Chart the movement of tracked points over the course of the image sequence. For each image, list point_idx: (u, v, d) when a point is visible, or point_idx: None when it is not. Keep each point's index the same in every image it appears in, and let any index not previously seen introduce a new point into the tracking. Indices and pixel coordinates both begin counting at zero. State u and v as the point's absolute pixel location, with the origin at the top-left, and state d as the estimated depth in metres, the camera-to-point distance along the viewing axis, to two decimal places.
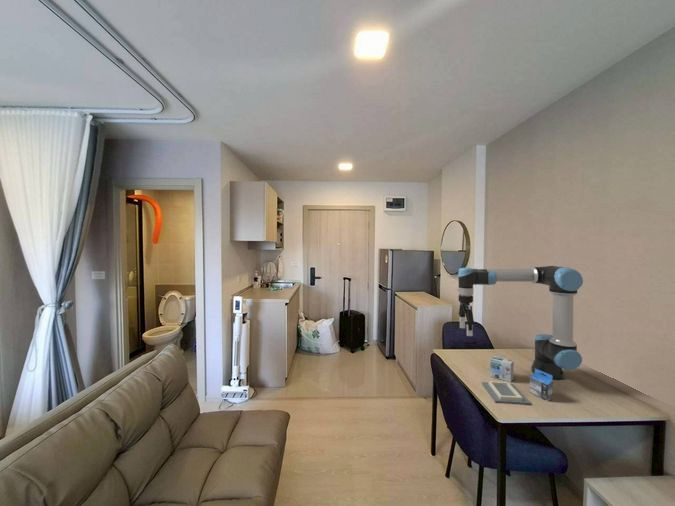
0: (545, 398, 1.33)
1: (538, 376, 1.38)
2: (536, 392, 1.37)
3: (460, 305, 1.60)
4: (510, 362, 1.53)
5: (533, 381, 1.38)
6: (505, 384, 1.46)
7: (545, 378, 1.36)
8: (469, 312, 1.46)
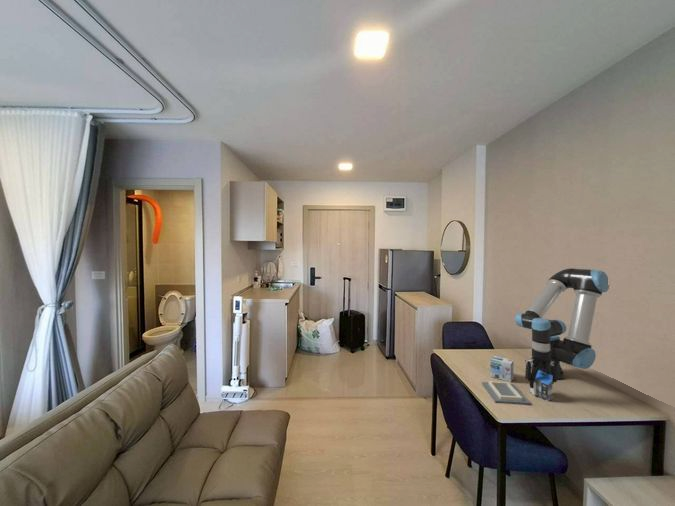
0: (545, 398, 1.33)
1: (538, 376, 1.38)
2: (536, 392, 1.37)
3: (550, 365, 1.37)
4: (510, 362, 1.53)
5: (534, 381, 1.38)
6: (505, 384, 1.46)
7: (545, 378, 1.36)
8: (526, 367, 1.38)
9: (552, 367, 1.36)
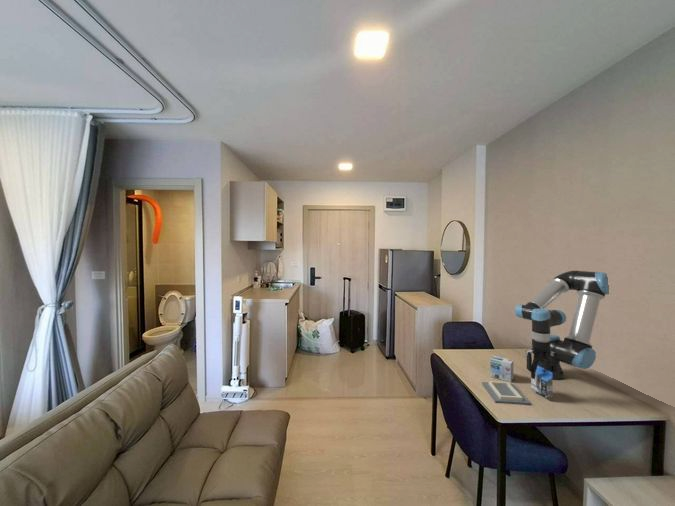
0: (544, 394, 1.34)
1: (539, 373, 1.38)
2: (536, 388, 1.38)
3: (550, 355, 1.37)
4: (510, 362, 1.53)
5: None
6: (505, 384, 1.46)
7: (546, 375, 1.36)
8: (527, 358, 1.38)
9: (552, 357, 1.35)
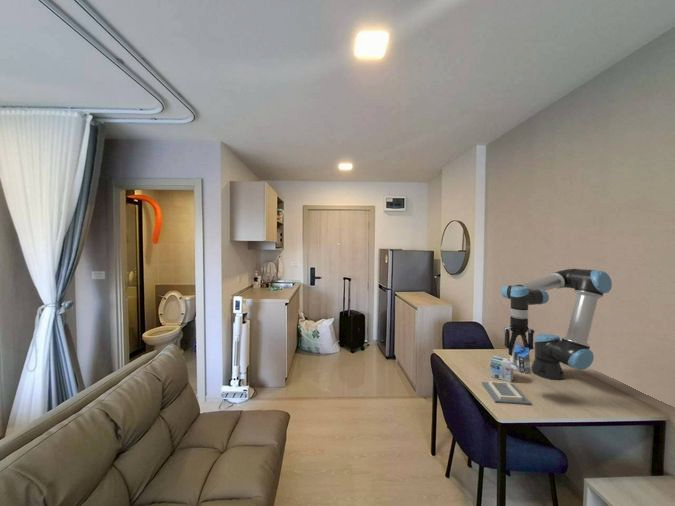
0: (523, 371, 1.33)
1: (517, 351, 1.39)
2: (515, 367, 1.38)
3: (528, 333, 1.38)
4: None
5: None
6: (505, 384, 1.46)
7: (523, 352, 1.37)
8: (505, 335, 1.39)
9: (529, 334, 1.37)
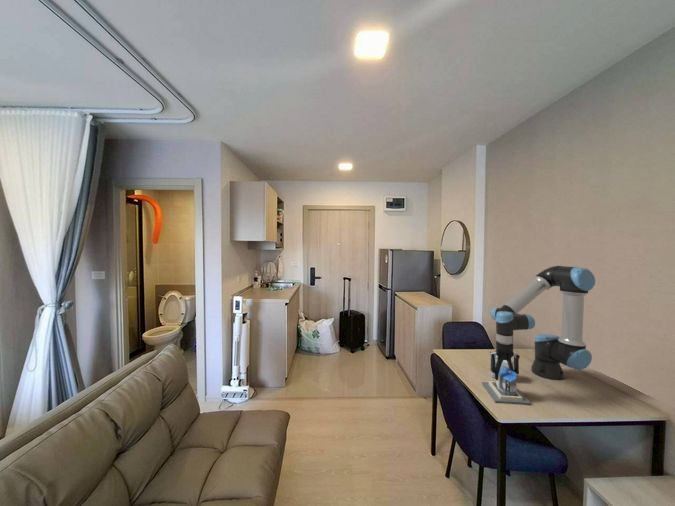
0: (508, 395, 1.35)
1: (505, 374, 1.40)
2: (501, 388, 1.39)
3: (514, 357, 1.40)
4: None
5: (500, 378, 1.40)
6: None
7: (510, 376, 1.37)
8: (491, 360, 1.41)
9: (515, 359, 1.38)
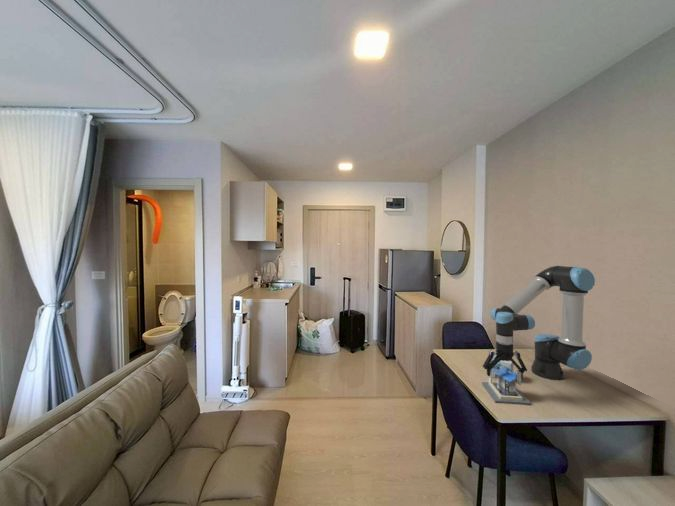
0: (507, 395, 1.35)
1: (505, 374, 1.40)
2: (501, 388, 1.39)
3: (516, 356, 1.40)
4: (510, 362, 1.53)
5: (499, 378, 1.40)
6: None
7: (510, 376, 1.37)
8: (488, 357, 1.41)
9: (517, 358, 1.38)
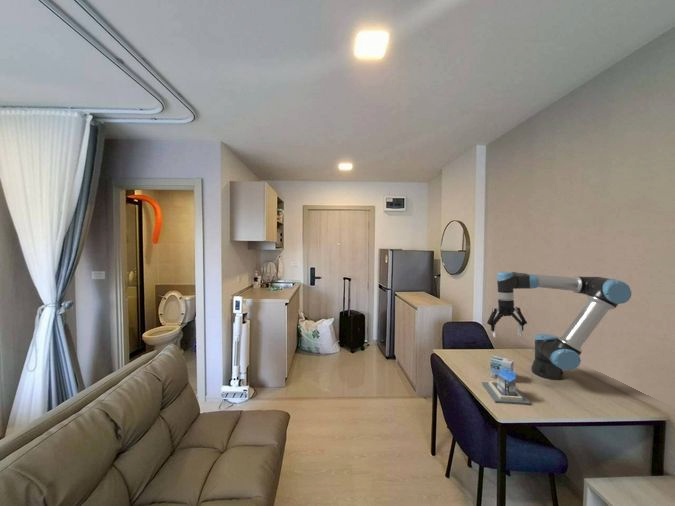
0: (507, 395, 1.35)
1: (505, 374, 1.40)
2: (501, 388, 1.39)
3: (516, 311, 1.52)
4: (510, 362, 1.53)
5: (499, 378, 1.40)
6: None
7: (510, 376, 1.37)
8: (491, 314, 1.53)
9: (518, 312, 1.51)
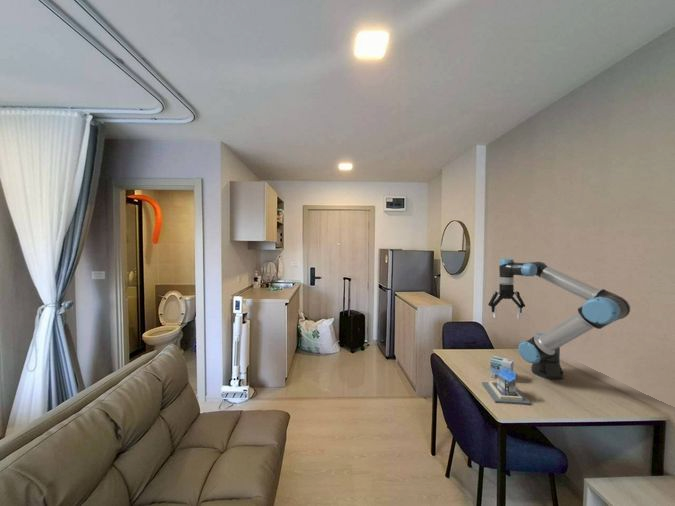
0: (507, 395, 1.35)
1: (505, 374, 1.40)
2: (501, 388, 1.39)
3: (516, 295, 1.67)
4: (510, 362, 1.53)
5: (499, 378, 1.40)
6: None
7: (510, 376, 1.37)
8: (492, 296, 1.69)
9: (517, 296, 1.65)
